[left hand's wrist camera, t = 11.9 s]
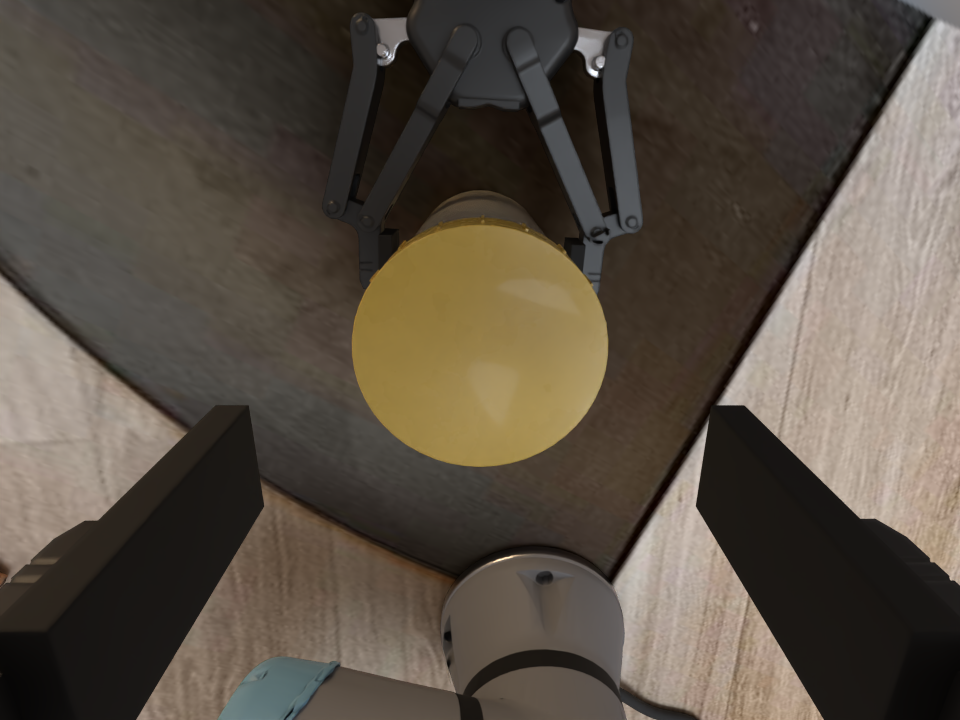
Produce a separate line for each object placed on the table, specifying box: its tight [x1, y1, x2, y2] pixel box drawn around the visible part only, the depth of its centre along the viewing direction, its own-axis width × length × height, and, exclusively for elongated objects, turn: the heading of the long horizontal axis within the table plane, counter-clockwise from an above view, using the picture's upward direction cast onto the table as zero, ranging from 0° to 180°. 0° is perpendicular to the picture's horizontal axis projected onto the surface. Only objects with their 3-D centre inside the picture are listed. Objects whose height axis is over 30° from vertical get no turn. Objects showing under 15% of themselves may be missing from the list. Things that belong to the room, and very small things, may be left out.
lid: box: [352, 215, 608, 467], centre depth 21 cm, size 9×9×2 cm
